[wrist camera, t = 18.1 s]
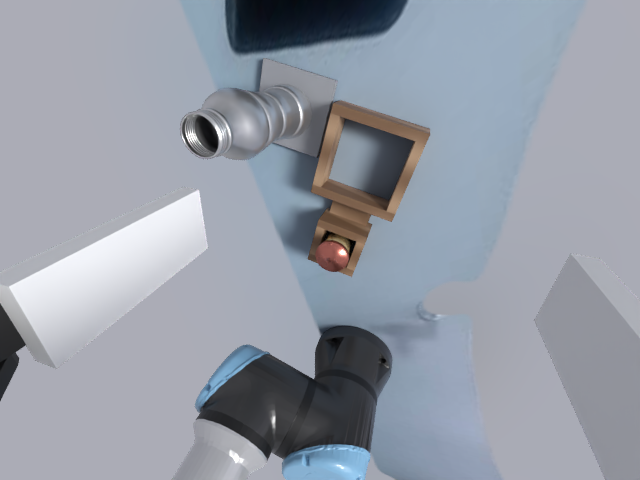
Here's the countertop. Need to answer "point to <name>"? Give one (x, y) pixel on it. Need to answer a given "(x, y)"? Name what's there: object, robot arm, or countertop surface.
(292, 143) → the pad
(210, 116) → the plastic bottle
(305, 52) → the countertop surface
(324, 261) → the copper-capped cylinder
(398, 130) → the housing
